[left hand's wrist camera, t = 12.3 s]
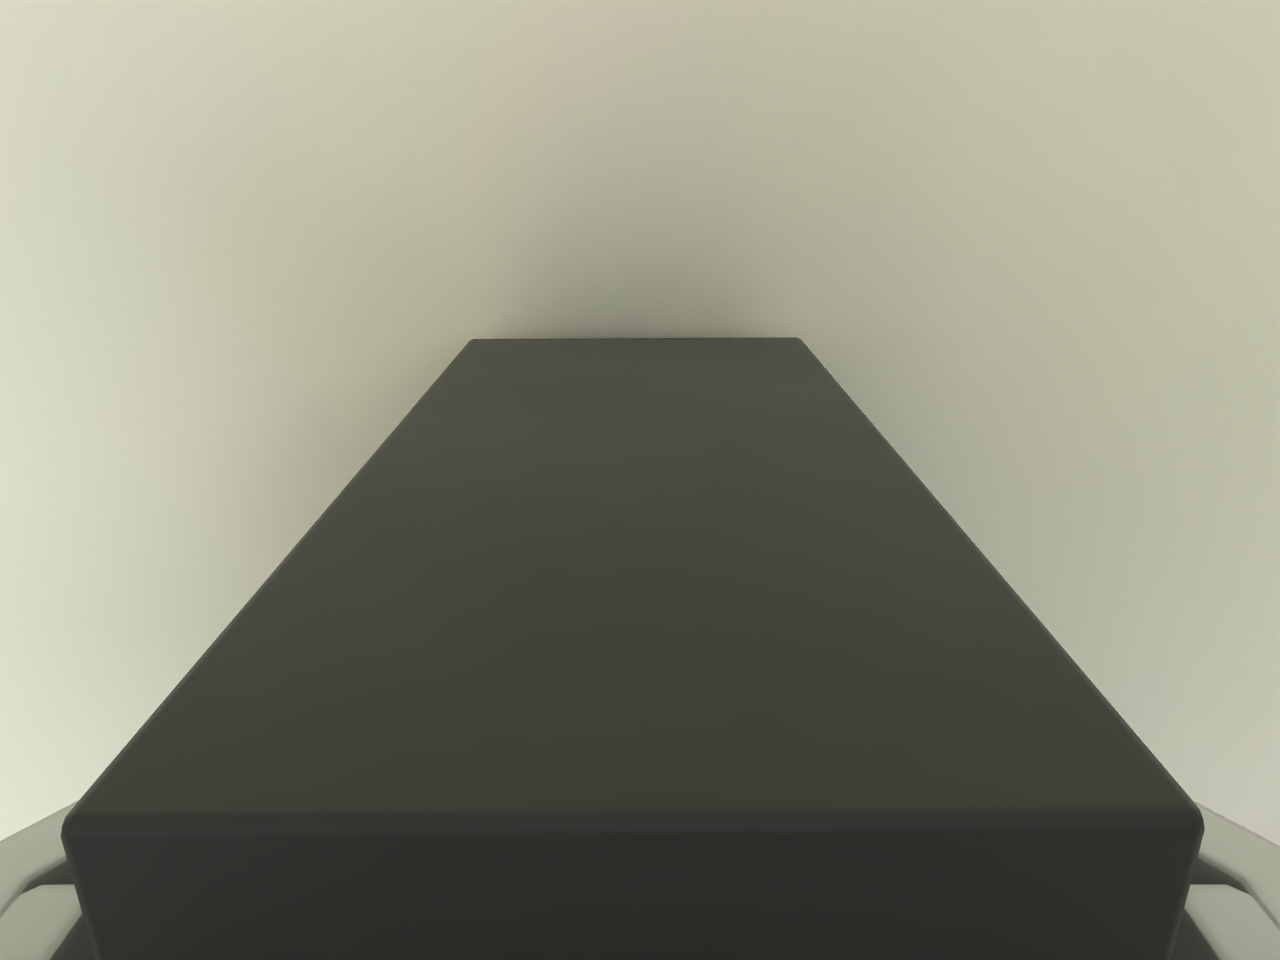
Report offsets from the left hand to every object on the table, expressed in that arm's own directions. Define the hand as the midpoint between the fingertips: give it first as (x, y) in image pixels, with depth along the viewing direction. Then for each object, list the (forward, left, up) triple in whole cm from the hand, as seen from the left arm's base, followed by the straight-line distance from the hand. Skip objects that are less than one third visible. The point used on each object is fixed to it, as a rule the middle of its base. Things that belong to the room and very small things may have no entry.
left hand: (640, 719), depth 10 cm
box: (+11, -2, -7) cm, 13 cm away
